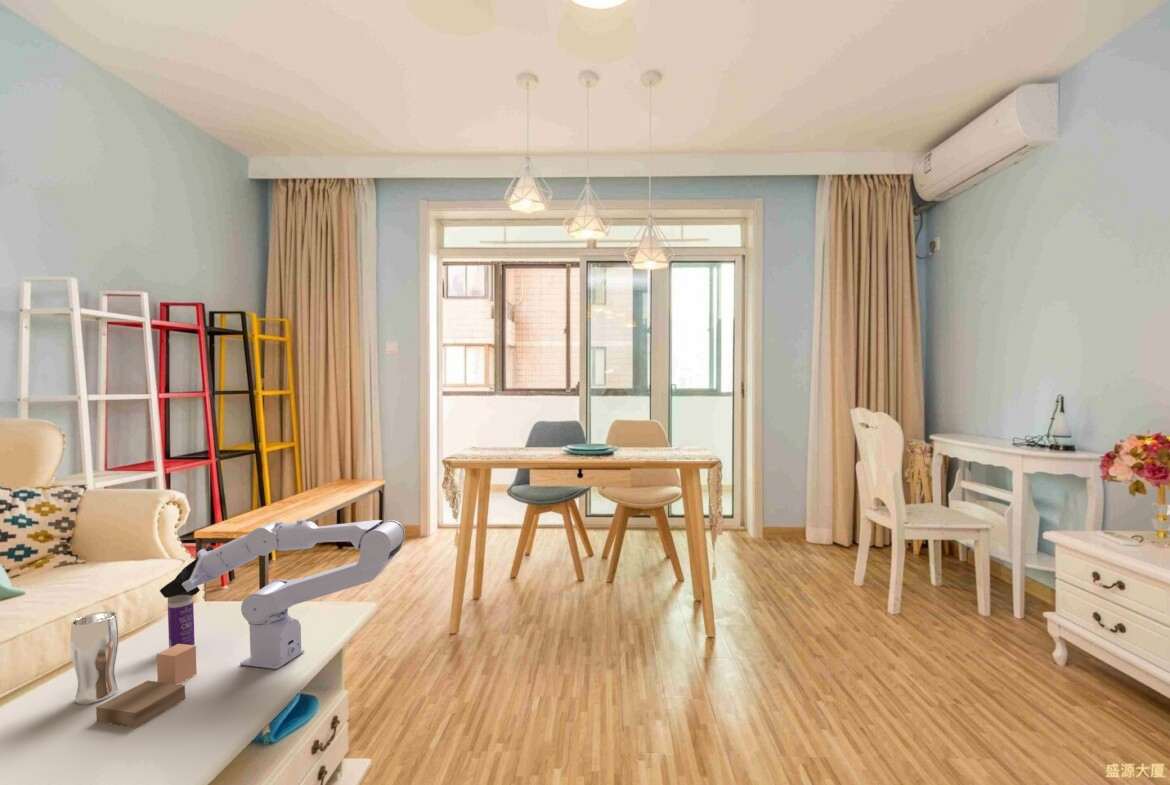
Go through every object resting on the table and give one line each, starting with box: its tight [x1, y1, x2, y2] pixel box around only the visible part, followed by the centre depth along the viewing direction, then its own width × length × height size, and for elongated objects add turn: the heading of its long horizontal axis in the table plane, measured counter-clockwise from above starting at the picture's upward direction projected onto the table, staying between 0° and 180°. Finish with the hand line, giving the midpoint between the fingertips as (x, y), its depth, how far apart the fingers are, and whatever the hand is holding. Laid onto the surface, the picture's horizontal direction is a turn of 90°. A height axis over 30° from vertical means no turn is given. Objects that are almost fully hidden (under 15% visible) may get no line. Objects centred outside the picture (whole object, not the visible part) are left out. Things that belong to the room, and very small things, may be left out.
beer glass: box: [69, 610, 120, 706], centre depth 106 cm, size 7×7×15 cm
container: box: [167, 595, 196, 648], centre depth 125 cm, size 5×5×15 cm
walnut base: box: [95, 680, 186, 729], centre depth 101 cm, size 9×9×3 cm
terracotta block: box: [156, 644, 198, 685], centre depth 112 cm, size 4×4×6 cm
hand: (174, 582), depth 119 cm, fingers open, 7 cm apart
